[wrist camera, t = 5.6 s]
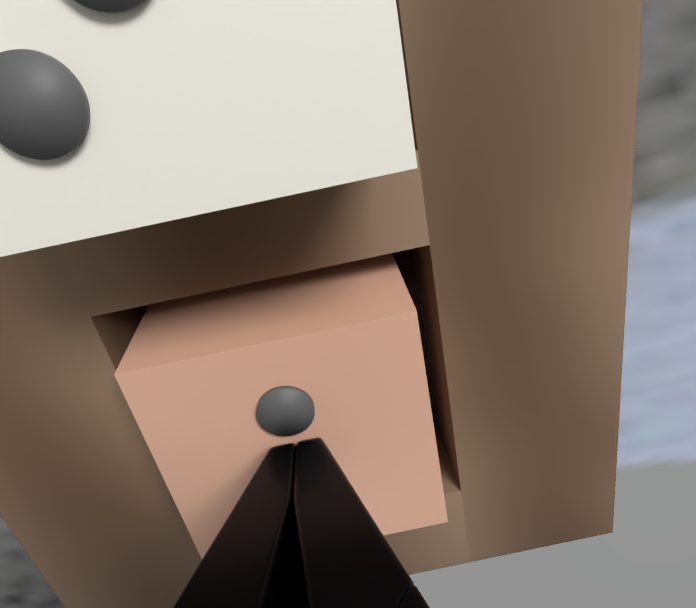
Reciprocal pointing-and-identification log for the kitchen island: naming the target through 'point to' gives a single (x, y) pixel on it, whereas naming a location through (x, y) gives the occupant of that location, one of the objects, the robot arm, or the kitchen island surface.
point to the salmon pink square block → (288, 391)
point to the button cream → (189, 108)
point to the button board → (355, 244)
